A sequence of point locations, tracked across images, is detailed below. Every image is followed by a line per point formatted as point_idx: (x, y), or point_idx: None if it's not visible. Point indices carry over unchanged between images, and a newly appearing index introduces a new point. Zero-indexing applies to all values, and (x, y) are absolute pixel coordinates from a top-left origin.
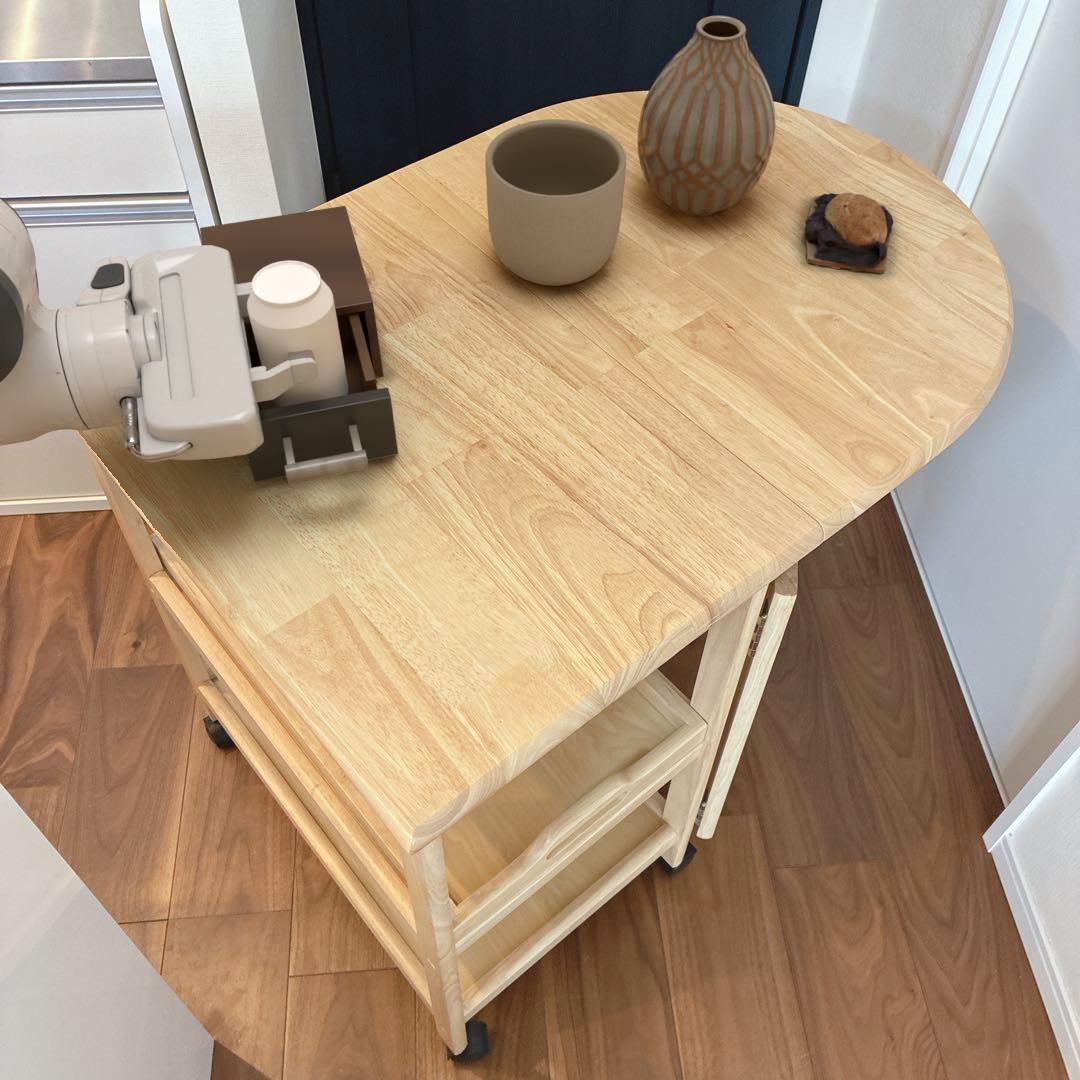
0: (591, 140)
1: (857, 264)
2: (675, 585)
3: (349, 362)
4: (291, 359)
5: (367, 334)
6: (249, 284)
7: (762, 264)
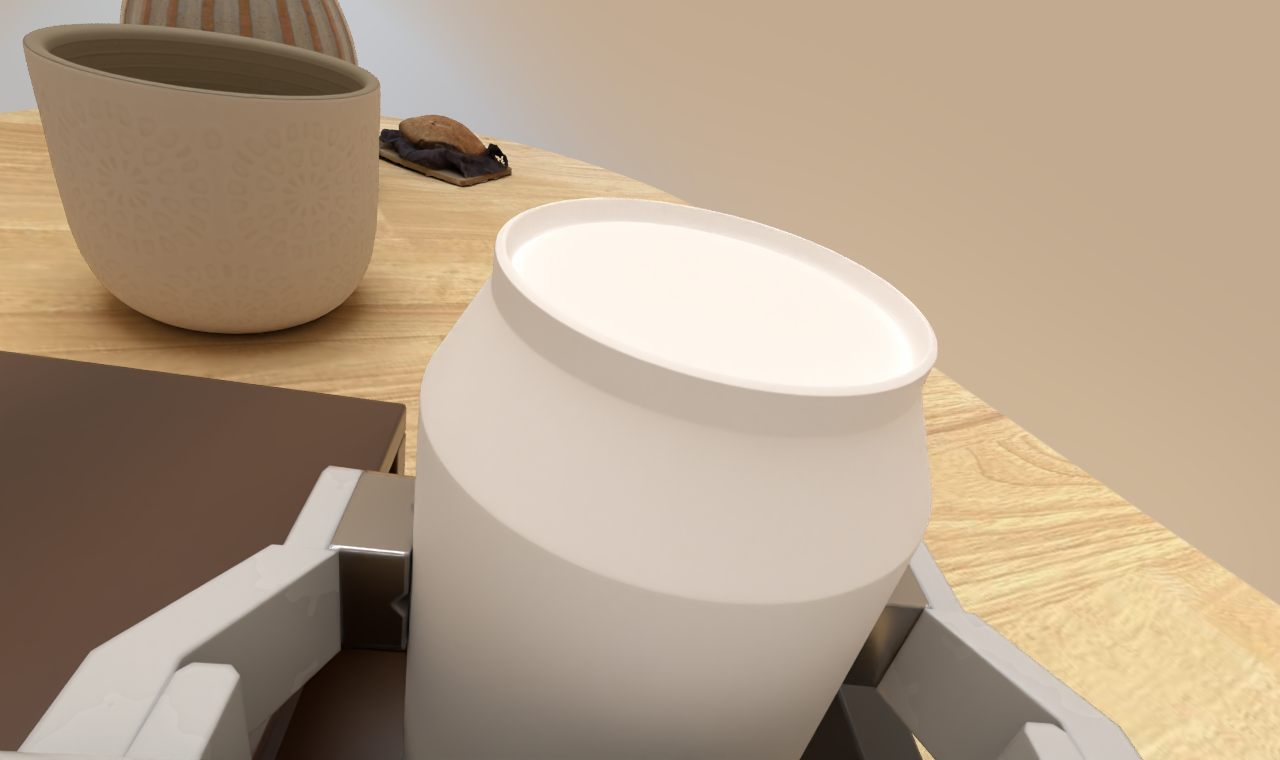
0: (187, 56)
1: (496, 170)
2: (980, 425)
3: (363, 670)
4: (921, 598)
5: None
6: (115, 664)
7: (439, 201)
